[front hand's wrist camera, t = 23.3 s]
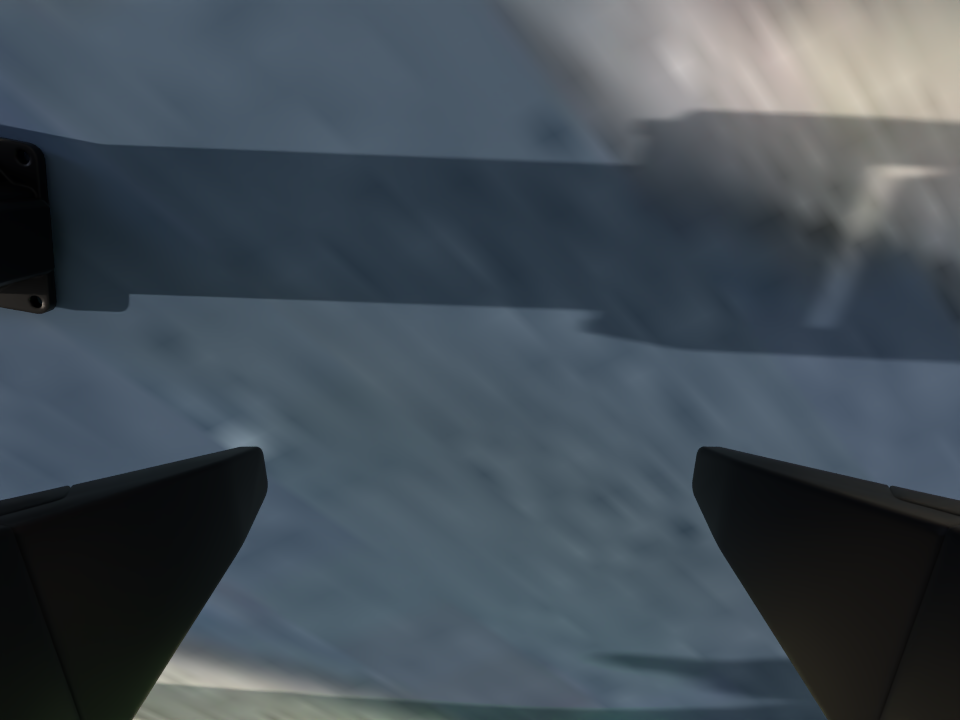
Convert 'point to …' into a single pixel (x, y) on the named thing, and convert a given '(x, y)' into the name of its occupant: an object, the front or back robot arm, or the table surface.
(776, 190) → the table surface
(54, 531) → the front robot arm
